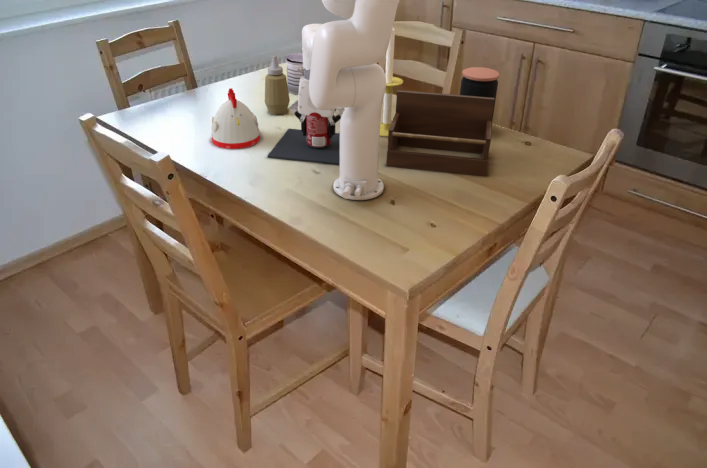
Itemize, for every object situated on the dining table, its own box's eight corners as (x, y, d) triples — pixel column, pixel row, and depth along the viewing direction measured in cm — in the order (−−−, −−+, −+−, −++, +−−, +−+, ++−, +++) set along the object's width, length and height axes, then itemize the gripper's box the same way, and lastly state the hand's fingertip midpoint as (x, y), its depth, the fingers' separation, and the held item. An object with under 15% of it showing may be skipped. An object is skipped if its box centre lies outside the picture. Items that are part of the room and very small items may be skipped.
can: (290, 83, 214) (288, 50, 208) (321, 85, 214) (320, 52, 207) (284, 94, 205) (282, 60, 198) (316, 95, 204) (315, 61, 198)
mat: (352, 166, 157) (352, 164, 157) (267, 157, 161) (267, 155, 161) (366, 137, 174) (366, 135, 173) (288, 130, 178) (288, 128, 177)
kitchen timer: (217, 151, 164) (210, 100, 156) (208, 133, 175) (201, 84, 167) (265, 144, 168) (261, 94, 160) (253, 127, 179) (249, 79, 171)
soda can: (327, 150, 164) (326, 110, 158) (304, 148, 165) (302, 107, 159) (332, 141, 170) (332, 101, 163) (310, 139, 171) (309, 99, 164)
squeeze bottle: (295, 110, 192) (292, 55, 182) (279, 118, 186) (276, 61, 176) (276, 105, 195) (272, 51, 186) (260, 113, 189) (255, 57, 180)
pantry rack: (485, 176, 153) (494, 118, 145) (386, 166, 158) (388, 109, 149) (486, 152, 166) (494, 97, 157) (394, 143, 170) (397, 90, 162)
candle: (408, 134, 176) (415, 22, 159) (377, 138, 173) (381, 25, 156) (395, 122, 184) (400, 14, 167) (365, 126, 181) (368, 17, 164)
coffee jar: (497, 130, 180) (506, 72, 170) (478, 140, 173) (486, 80, 163) (468, 121, 186) (475, 64, 176) (448, 130, 179) (455, 72, 169)
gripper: (281, 74, 154) (285, 137, 164) (345, 80, 151) (345, 143, 161) (290, 66, 160) (292, 127, 170) (351, 71, 158) (351, 133, 167)
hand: (318, 135), depth 166 cm, fingers closed on soda can, 6 cm apart
